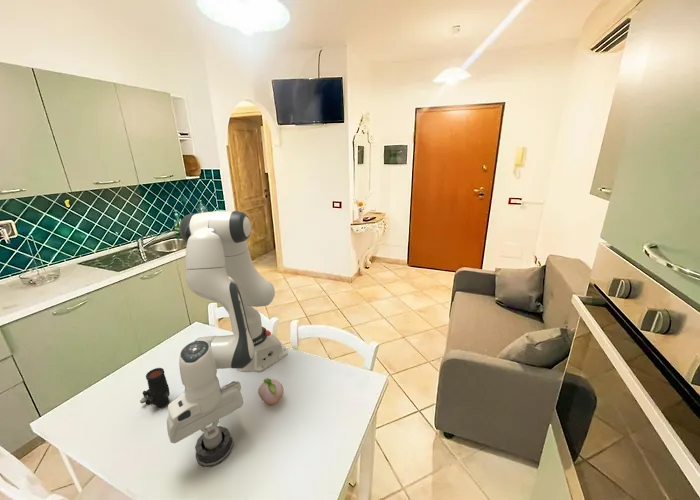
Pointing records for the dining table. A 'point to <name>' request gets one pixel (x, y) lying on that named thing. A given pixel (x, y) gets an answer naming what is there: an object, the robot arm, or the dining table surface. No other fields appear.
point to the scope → (156, 389)
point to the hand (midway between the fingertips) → (211, 432)
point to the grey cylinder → (213, 440)
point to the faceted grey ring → (217, 454)
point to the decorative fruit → (271, 391)
